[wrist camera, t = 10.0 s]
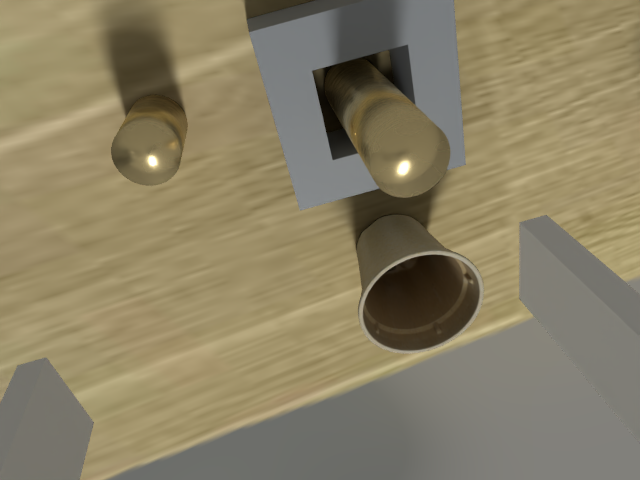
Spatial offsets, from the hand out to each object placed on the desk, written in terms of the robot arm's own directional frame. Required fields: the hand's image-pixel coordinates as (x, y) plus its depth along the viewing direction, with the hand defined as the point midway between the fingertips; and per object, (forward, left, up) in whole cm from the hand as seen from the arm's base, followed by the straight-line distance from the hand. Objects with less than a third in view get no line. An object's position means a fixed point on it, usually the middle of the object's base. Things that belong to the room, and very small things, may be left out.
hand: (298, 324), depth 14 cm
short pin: (-7, -1, -25) cm, 26 cm away
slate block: (+7, -2, -25) cm, 26 cm away
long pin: (+6, -2, -25) cm, 26 cm away
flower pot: (+7, -16, -26) cm, 31 cm away
